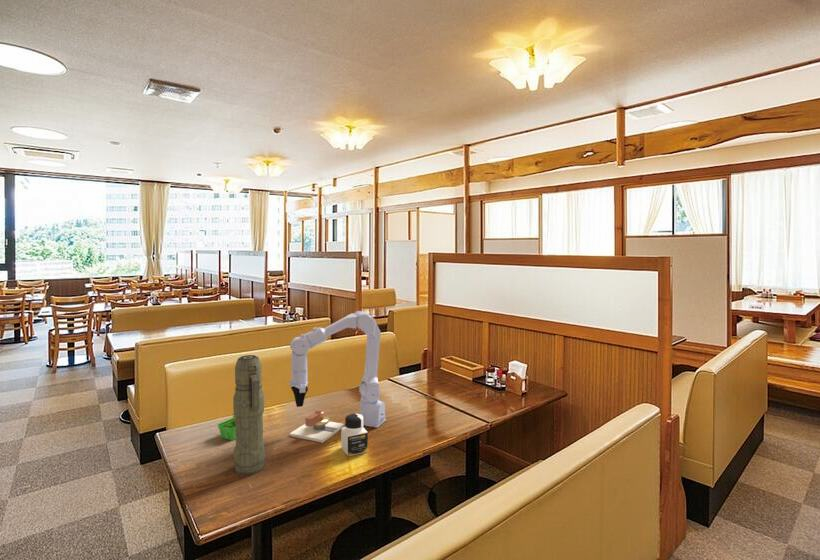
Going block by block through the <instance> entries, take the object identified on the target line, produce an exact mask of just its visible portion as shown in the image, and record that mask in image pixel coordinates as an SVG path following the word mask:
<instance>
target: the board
mask: <svg viewBox="0 0 820 560" xmlns="http://www.w3.org/2000/svg"><path fill="white" fill-rule="evenodd" d="M344 427H345V423H341V422H334V421H329V423H327V424H325V425H321V426H312V427H308V426H305V423H303V424H302V425H301V426H299V427H297V428H296V429H294V430H293V431H291V432H290V433H289V437H293V438H296V439H297V438H298V439H302V440H308V441H313V442H318V443H324V442H325V441H327V440H328V439H330V438H331V437H332V436H334V435H335V434H337V433H338V432H339V431H341V428H344Z"/></svg>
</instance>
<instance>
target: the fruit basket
mask: <svg viewBox="0 0 820 560" xmlns="http://www.w3.org/2000/svg"><path fill="white" fill-rule="evenodd" d="M217 428H218V430H219V433H220V435H221V438H222V439H225V440H230V441H234V440H236V426H235V416H234V412H233V414H232V418H229V419H227V420H225V421H222V422H220V423H218V424H217Z"/></svg>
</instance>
